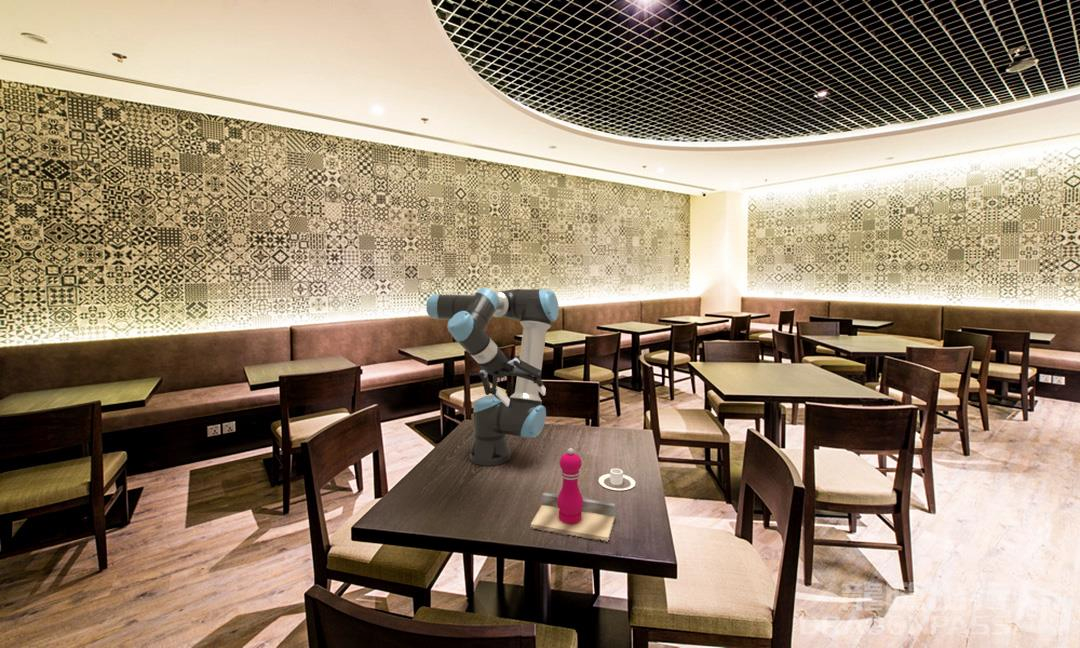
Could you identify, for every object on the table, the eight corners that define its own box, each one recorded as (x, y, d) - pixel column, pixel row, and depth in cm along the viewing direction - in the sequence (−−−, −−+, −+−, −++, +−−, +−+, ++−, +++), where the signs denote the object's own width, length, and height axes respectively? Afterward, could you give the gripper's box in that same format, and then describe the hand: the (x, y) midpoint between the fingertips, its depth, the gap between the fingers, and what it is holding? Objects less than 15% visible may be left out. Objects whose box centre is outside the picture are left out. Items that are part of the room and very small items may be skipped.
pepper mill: (585, 513, 126) (586, 445, 124) (579, 527, 119) (580, 455, 117) (561, 509, 128) (561, 441, 126) (553, 522, 122) (554, 451, 119)
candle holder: (643, 486, 146) (643, 473, 145) (615, 496, 140) (615, 482, 139) (618, 472, 156) (618, 460, 155) (591, 481, 150) (591, 468, 149)
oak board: (530, 529, 121) (530, 513, 121) (543, 507, 132) (543, 492, 132) (608, 543, 115) (608, 526, 114) (614, 518, 126) (615, 503, 126)
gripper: (451, 376, 133) (492, 416, 145) (522, 351, 123) (559, 396, 135) (457, 358, 139) (496, 398, 150) (525, 333, 129) (561, 378, 140)
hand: (526, 397), depth 142 cm, fingers open, 13 cm apart
